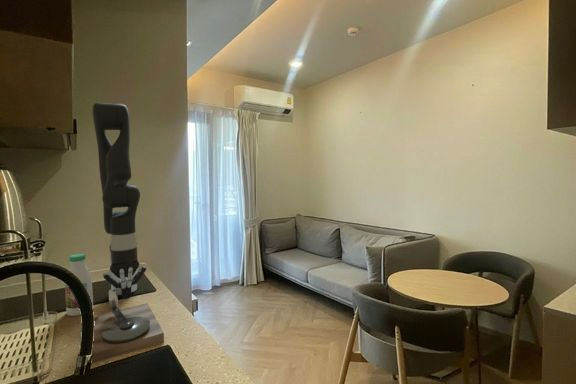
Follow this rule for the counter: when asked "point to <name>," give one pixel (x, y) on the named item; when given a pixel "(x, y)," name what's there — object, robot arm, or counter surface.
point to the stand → (109, 350)
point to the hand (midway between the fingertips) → (126, 298)
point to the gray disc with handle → (123, 324)
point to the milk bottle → (84, 275)
